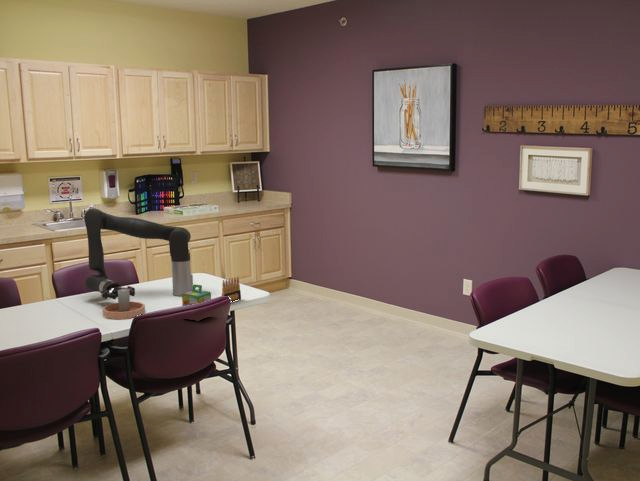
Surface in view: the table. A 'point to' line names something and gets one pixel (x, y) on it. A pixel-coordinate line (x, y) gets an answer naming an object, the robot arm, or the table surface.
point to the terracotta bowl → (113, 313)
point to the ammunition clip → (231, 289)
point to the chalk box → (195, 296)
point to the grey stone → (123, 300)
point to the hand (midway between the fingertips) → (124, 295)
